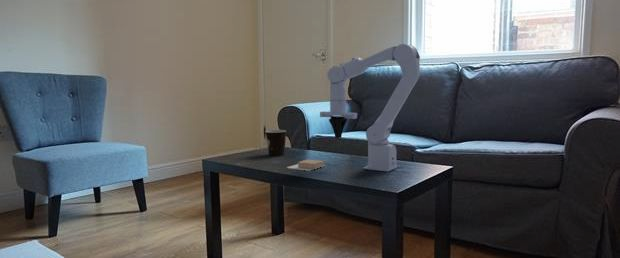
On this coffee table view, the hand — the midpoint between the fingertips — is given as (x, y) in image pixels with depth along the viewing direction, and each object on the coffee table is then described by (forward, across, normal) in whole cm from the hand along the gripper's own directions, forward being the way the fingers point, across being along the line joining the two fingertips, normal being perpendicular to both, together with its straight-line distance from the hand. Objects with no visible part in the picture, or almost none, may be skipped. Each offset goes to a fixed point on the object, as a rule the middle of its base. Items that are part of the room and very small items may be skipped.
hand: (338, 137), depth 165 cm
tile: (+9, -3, -8) cm, 13 cm away
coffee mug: (+11, -33, +5) cm, 35 cm away
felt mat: (+10, -9, -8) cm, 16 cm away
